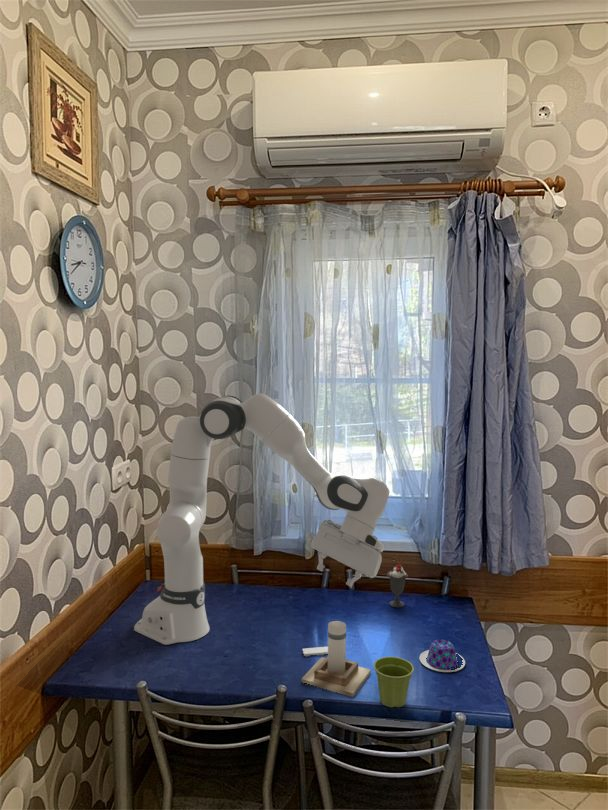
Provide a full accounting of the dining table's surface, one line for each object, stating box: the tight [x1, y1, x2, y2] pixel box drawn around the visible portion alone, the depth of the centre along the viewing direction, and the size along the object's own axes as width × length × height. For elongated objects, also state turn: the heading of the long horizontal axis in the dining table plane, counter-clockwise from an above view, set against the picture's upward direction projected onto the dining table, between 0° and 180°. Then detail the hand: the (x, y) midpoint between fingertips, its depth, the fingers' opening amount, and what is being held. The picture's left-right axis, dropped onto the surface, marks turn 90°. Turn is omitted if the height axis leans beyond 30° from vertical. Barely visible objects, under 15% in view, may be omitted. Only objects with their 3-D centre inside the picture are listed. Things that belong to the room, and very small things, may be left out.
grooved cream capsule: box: [327, 620, 347, 676], centre depth 157 cm, size 5×5×13 cm
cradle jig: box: [300, 655, 372, 698], centre depth 158 cm, size 14×12×3 cm
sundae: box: [386, 561, 409, 608], centre depth 200 cm, size 7×7×15 cm
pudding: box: [418, 639, 466, 673], centre depth 166 cm, size 12×12×5 cm
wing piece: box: [301, 646, 328, 657], centre depth 171 cm, size 10×3×1 cm, turn 100°
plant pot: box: [373, 656, 415, 708], centre depth 147 cm, size 9×9×9 cm
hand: (333, 578), depth 171 cm, fingers open, 8 cm apart
